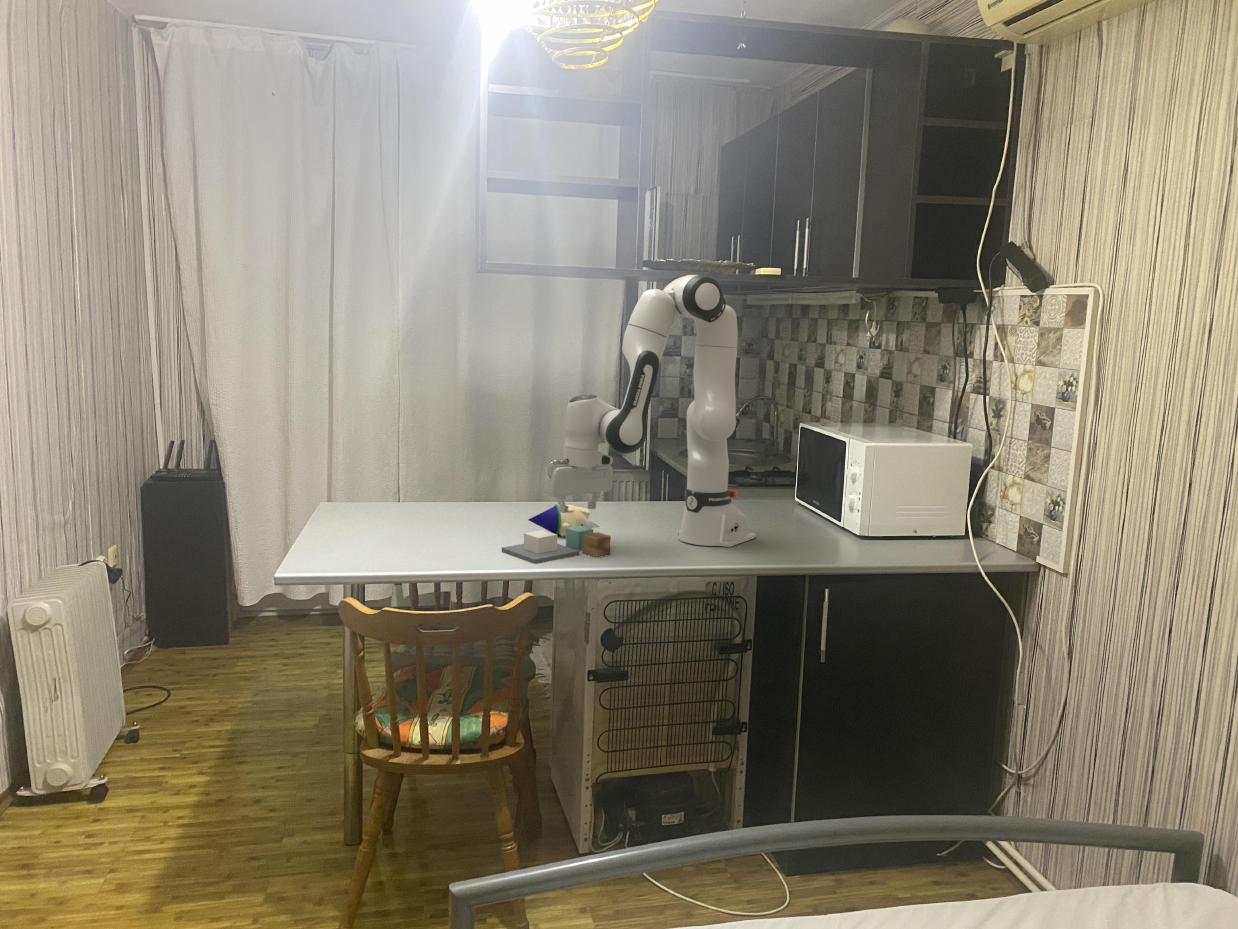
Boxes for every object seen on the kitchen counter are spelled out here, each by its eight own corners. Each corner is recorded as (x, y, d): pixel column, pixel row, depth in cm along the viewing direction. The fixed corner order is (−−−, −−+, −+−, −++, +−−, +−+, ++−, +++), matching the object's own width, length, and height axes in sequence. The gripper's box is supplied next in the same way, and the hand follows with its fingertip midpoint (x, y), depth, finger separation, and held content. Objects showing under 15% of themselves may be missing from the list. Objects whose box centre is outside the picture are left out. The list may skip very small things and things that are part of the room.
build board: (545, 543, 243) (545, 525, 242) (579, 554, 233) (579, 535, 232) (501, 551, 234) (501, 532, 233) (534, 563, 224) (535, 543, 223)
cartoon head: (599, 544, 255) (527, 545, 249) (592, 520, 262) (523, 520, 256) (605, 521, 250) (532, 521, 244) (598, 498, 257) (527, 497, 251)
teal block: (580, 544, 244) (581, 525, 243) (592, 548, 240) (593, 529, 240) (565, 546, 241) (566, 528, 240) (578, 550, 237) (578, 532, 236)
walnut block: (597, 551, 238) (597, 532, 237) (610, 555, 234) (610, 536, 233) (582, 554, 234) (582, 534, 234) (595, 558, 231) (595, 538, 230)
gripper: (556, 462, 227) (553, 517, 230) (617, 457, 241) (614, 509, 243) (540, 458, 232) (538, 512, 234) (601, 453, 246) (599, 504, 248)
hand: (577, 510), depth 239 cm, fingers open, 8 cm apart
